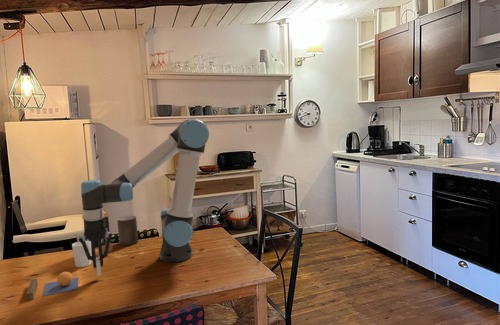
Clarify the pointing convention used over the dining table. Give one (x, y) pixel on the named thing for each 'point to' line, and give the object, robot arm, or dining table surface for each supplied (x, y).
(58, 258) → the dining table surface
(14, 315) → the dining table surface
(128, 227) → the pillar candle
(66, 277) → the ball
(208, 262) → the dining table surface
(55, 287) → the navy mark
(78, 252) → the white cup
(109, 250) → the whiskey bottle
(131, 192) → the robot arm
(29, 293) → the brown wooden bar
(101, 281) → the dining table surface
